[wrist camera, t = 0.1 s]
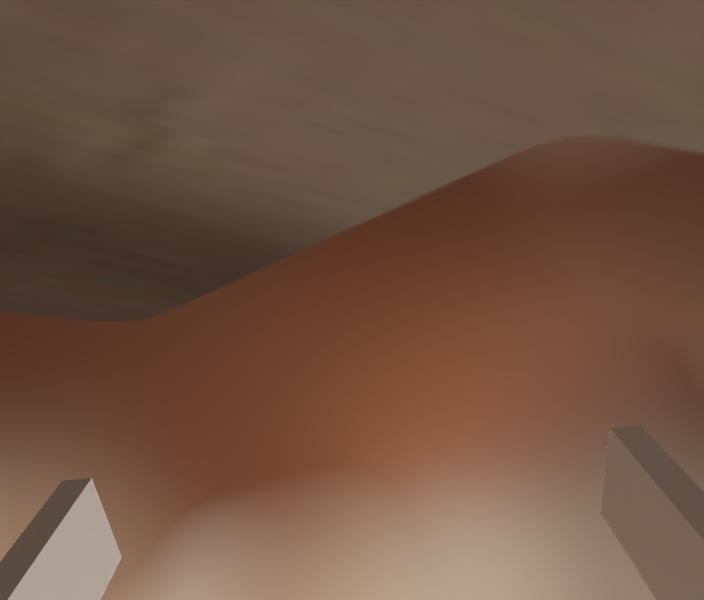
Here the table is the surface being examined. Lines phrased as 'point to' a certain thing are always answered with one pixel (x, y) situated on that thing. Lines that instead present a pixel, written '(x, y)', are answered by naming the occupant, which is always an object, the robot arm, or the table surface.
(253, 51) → the table surface
